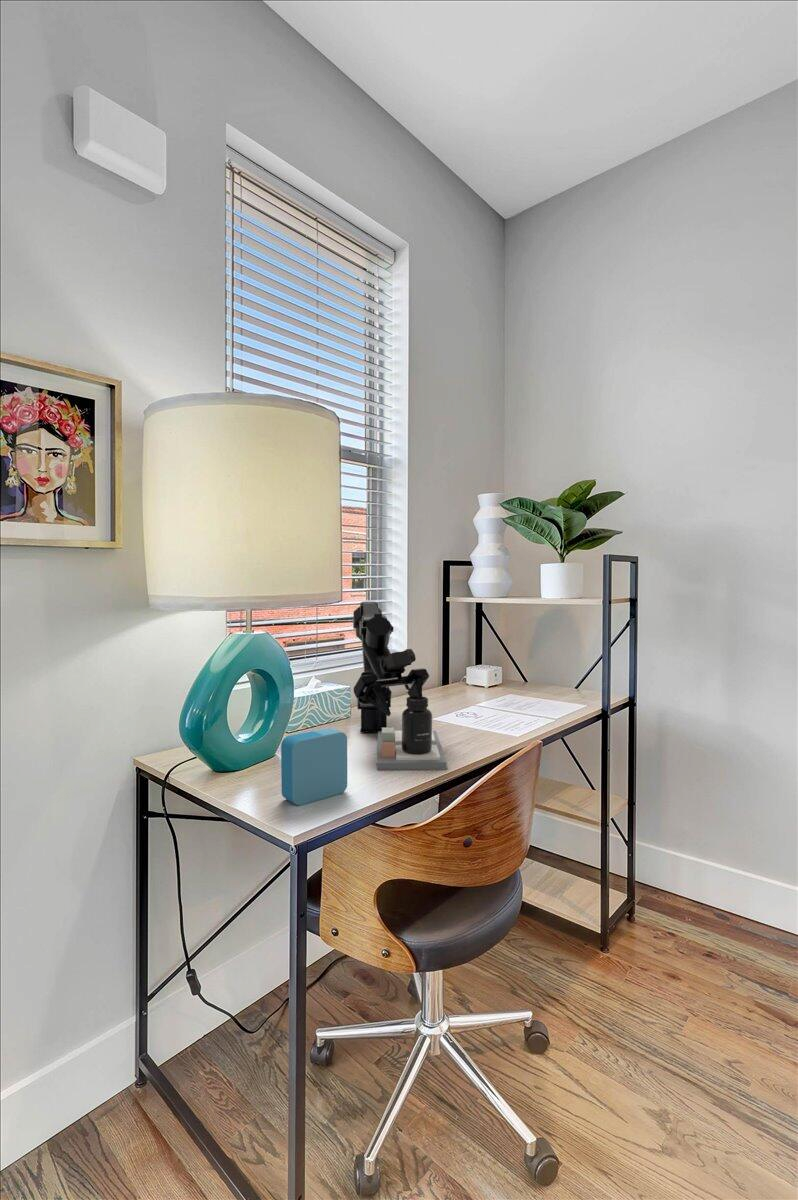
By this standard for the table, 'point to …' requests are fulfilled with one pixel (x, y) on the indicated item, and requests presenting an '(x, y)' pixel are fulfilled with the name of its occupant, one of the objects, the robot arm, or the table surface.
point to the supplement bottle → (417, 726)
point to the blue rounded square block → (313, 765)
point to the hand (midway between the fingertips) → (406, 712)
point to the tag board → (397, 759)
